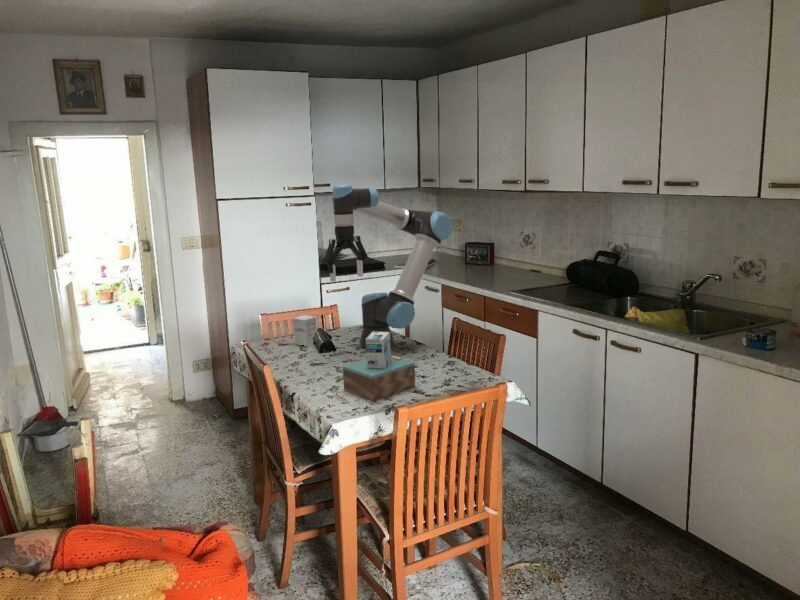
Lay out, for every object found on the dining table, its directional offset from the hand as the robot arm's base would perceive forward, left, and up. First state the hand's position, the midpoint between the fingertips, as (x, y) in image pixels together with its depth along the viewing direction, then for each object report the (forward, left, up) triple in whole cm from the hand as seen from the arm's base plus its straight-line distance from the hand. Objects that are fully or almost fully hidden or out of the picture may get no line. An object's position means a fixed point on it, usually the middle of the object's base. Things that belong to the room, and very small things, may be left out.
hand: (346, 278), depth 256 cm
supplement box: (-3, -37, -35) cm, 51 cm away
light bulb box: (+12, +32, -26) cm, 43 cm away
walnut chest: (+12, +32, -35) cm, 49 cm away
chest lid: (+12, +32, -27) cm, 43 cm away
